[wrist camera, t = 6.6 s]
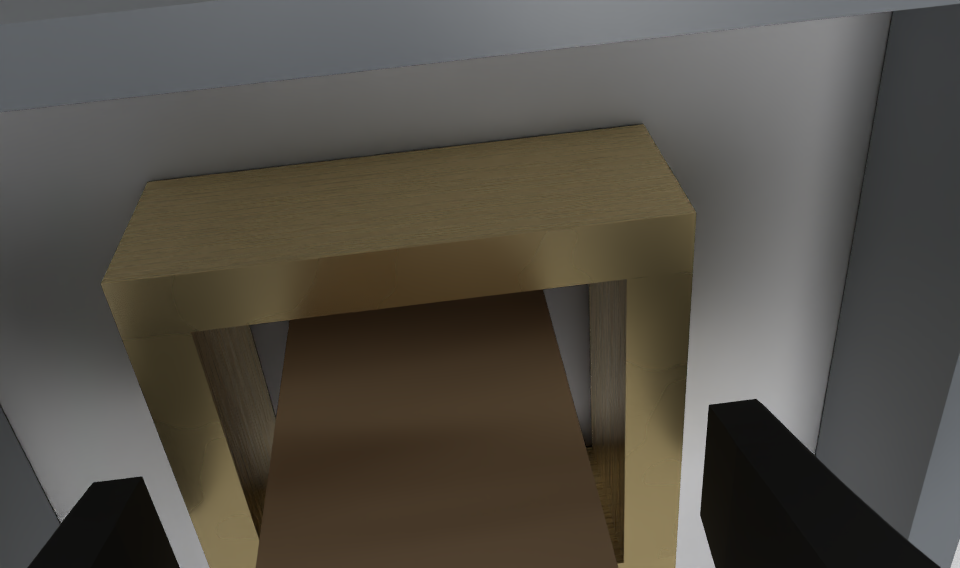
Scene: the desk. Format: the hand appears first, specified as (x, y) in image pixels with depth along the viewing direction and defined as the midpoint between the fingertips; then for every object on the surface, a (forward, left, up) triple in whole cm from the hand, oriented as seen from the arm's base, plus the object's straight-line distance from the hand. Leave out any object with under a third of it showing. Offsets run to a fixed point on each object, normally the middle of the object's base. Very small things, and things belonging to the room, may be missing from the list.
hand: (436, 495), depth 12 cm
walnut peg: (0, 0, -3) cm, 3 cm away
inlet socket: (0, 0, -3) cm, 3 cm away
